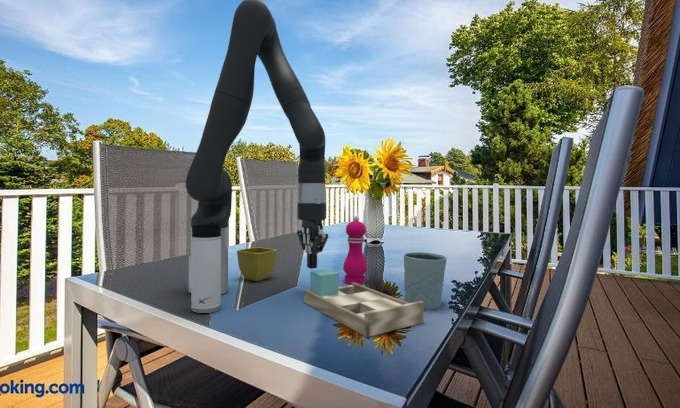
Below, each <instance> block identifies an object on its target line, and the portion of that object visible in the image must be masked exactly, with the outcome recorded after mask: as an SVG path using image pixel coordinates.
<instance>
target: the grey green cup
mask: <svg viewBox="0 0 680 408" xmlns="http://www.w3.org/2000/svg"><path fill="white" fill-rule="evenodd" d="M447 259H448V258H447V257H446V256H445V255H442V254H439V253H438V254H437V253H432V252H419V251H417V252H407V253H403V265H404V266H403V269H404V272H403V275H404V277H403V279H404V285H403V286H404V291H405V292H404V301H405V302H408V303H413V302H418V301H423V302H424V310H425V309H426V310H425V311H427V309H428V310H429V311H430V309H432V310H436V308H437V309H439V308H440V307H441V304H442V295H443V286H444V281H445V271H446V265H447Z"/></svg>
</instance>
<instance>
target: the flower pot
mask: <svg viewBox="0 0 680 408" xmlns="http://www.w3.org/2000/svg"><path fill="white" fill-rule="evenodd" d="M277 252H278V250H277V249H275V248H273V249H272V248H266V247H259V246H258V247H257V246H255V247H248V248H242V249H237V250H236V255H237V264H238V269H239V271H240V274H241V275H242V277H243V278H244V279H245V280H250V281H254V282H258V281H263V280H266V279H268V278H269V277H270V275H271V274H272V273H273V270H274V269H275V266H276V265H275V264H276V257H277Z"/></svg>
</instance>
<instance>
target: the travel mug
mask: <svg viewBox="0 0 680 408" xmlns="http://www.w3.org/2000/svg"><path fill="white" fill-rule="evenodd" d="M190 296H191V298H190V299H191V300H190V301H191V302H190V303H191V306H190V309H191V310H192V311H194V312H199V313H209V314H213V313H212V312H214V313H217V312H218V311H220V310H221V308H222V305H221V304H222V295H221V223H220V222H211V224H201V225H192V266H191V294H190ZM192 311H191V312H192Z"/></svg>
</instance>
